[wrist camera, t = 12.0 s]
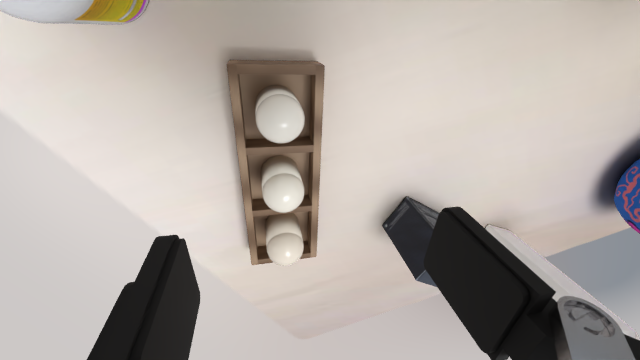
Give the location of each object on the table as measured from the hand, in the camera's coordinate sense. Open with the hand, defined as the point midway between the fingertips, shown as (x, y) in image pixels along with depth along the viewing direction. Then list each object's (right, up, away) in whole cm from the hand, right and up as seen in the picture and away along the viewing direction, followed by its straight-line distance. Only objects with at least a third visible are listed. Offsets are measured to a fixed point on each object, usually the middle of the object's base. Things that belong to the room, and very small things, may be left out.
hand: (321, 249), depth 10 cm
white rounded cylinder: (-5, +10, +18) cm, 21 cm away
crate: (-5, +4, +22) cm, 23 cm away
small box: (+15, -4, +32) cm, 36 cm away
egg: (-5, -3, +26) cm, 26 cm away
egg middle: (-5, +4, +22) cm, 23 cm away
